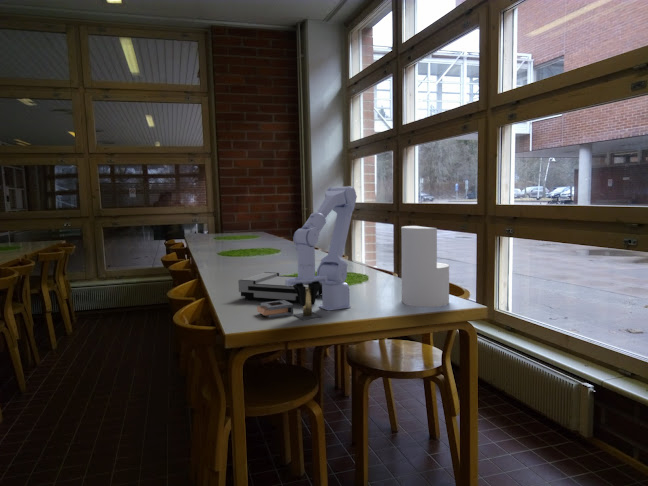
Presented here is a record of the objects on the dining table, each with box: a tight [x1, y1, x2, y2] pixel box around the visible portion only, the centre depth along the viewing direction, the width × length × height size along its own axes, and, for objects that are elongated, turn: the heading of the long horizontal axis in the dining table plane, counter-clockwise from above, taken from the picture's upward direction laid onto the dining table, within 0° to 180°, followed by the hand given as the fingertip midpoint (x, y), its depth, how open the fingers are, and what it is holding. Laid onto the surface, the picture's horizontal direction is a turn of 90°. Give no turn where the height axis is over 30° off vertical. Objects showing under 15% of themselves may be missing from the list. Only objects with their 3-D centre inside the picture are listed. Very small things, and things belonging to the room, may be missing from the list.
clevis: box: [256, 300, 294, 319], centre depth 157 cm, size 10×8×4 cm
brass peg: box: [302, 288, 313, 316], centre depth 153 cm, size 3×3×9 cm
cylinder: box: [400, 225, 450, 308], centre depth 171 cm, size 17×17×28 cm
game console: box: [237, 271, 322, 305], centre depth 184 cm, size 21×32×8 cm, turn 67°
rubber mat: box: [293, 311, 322, 321], centre depth 154 cm, size 7×7×1 cm
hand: (307, 304), depth 153 cm, fingers closed on brass peg, 3 cm apart
